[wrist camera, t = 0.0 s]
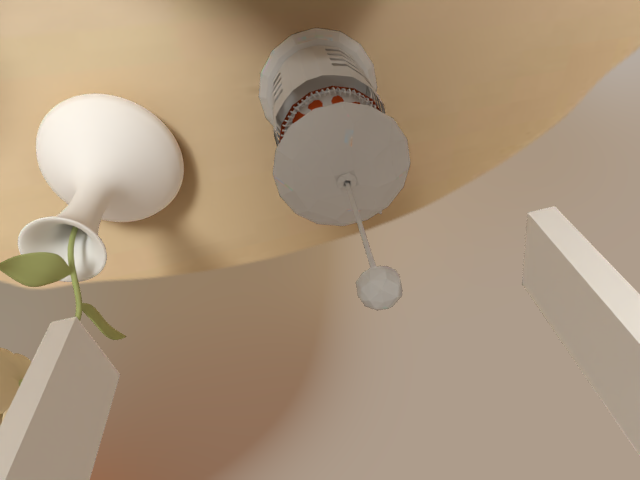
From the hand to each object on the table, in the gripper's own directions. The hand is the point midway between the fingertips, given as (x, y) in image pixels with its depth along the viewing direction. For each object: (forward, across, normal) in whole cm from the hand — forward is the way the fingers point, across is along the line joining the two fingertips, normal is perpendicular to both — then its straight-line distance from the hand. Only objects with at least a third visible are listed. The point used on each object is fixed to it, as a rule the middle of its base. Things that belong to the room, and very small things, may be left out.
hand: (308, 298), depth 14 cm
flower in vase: (+28, -15, -6) cm, 33 cm away
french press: (+28, +3, -5) cm, 29 cm away
